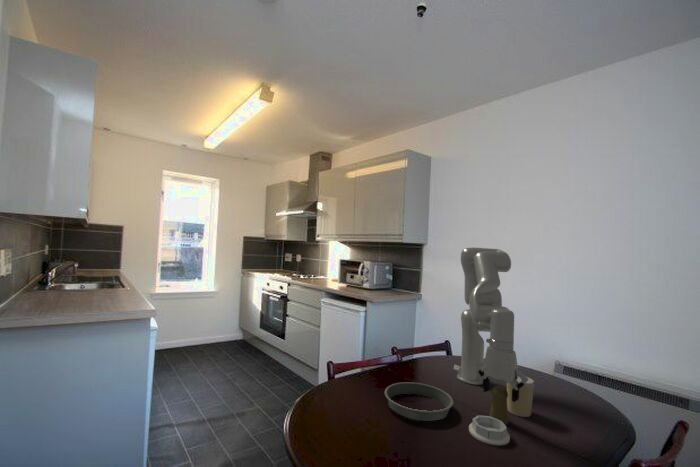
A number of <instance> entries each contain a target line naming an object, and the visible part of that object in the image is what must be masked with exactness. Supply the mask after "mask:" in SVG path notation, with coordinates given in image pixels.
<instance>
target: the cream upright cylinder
mask: <svg viewBox="0 0 700 467" xmlns="http://www.w3.org/2000/svg"><path fill="white" fill-rule="evenodd" d="M526 377H527V378H528V381H527V382H526V384H525V385H524V386H523V387H521V388H520V389H519V399H518V400H517V401H515V402H513V401H512V389H514V388H513V386H512V385H511V383H507V382H506V390H507V392H508V397H507V399H506V406H507V412H509V413H510V414H513V415H515V416H518V417H523V418H528V417H530V416H532V408H533V399H534V388H535V381H534V380H533V379H532V378H530V377H529V376H526ZM517 381H518V383H520V382H521V381H522V380H521V378H520V377H518V378H517Z"/></svg>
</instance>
